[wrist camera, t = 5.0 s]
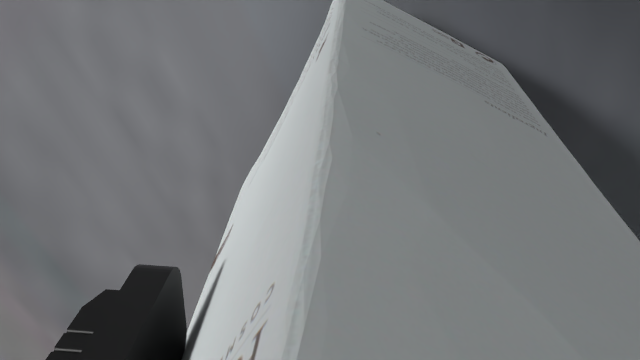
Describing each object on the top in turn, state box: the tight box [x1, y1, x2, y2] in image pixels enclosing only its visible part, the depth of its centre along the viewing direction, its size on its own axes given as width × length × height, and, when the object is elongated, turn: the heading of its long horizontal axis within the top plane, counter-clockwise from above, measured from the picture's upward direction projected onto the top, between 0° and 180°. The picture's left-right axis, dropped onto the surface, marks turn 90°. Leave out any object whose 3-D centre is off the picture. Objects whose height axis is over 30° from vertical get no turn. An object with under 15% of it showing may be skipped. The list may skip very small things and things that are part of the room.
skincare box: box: [181, 0, 640, 360], centre depth 12 cm, size 8×6×15 cm
